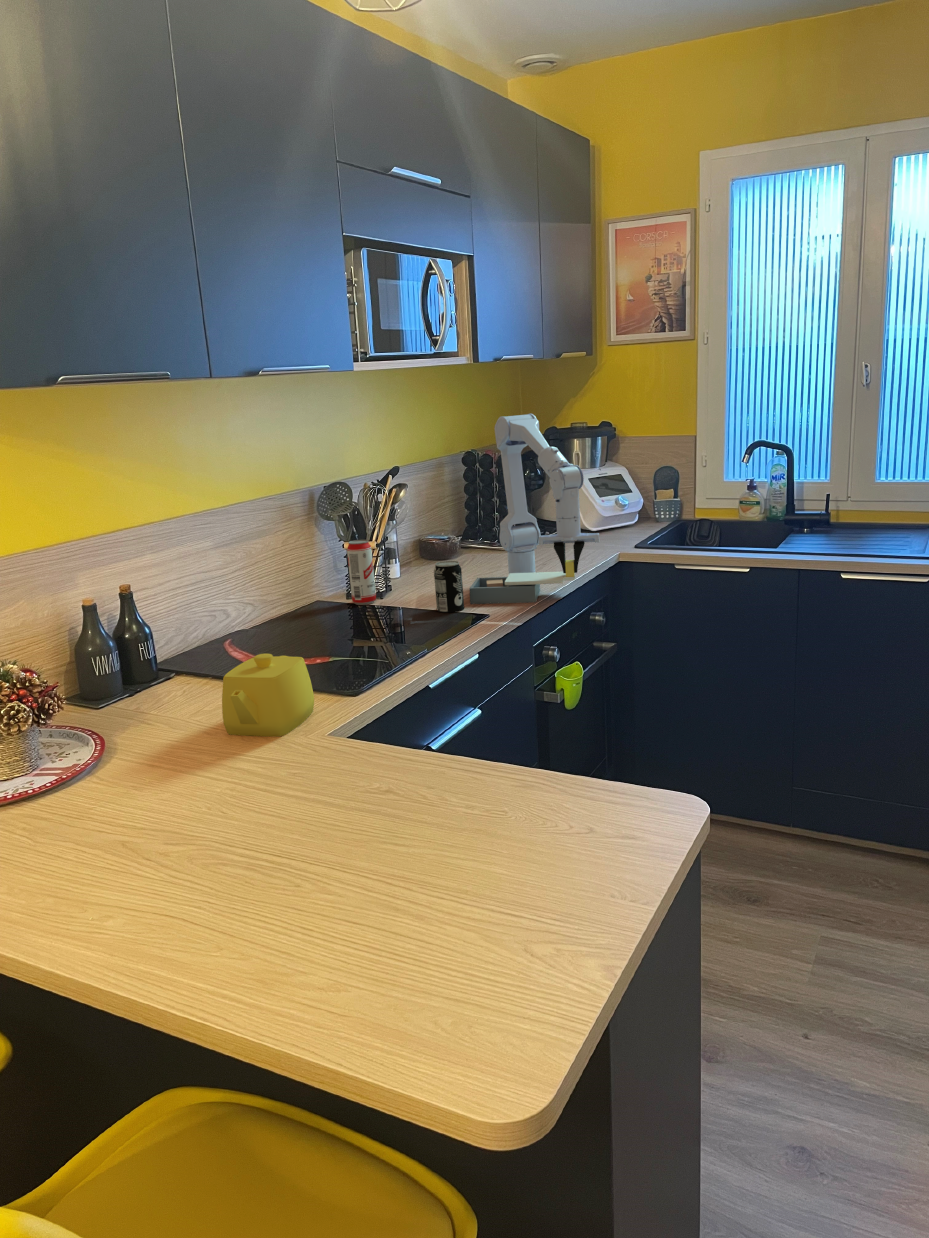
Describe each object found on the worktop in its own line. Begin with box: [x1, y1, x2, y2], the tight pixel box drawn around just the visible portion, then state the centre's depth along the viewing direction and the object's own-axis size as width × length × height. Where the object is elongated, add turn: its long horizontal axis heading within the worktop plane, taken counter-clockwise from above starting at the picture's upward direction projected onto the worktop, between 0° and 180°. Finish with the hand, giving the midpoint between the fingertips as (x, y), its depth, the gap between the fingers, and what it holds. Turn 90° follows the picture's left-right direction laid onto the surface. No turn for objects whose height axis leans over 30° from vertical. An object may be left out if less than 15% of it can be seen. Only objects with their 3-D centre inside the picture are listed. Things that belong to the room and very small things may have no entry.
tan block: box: [487, 580, 503, 587], centre depth 228 cm, size 4×4×4 cm
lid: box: [505, 559, 576, 585], centre depth 222 cm, size 10×17×4 cm, turn 80°
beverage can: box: [433, 560, 465, 614], centre depth 216 cm, size 7×7×12 cm
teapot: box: [221, 653, 315, 738], centre depth 150 cm, size 20×12×12 cm, turn 165°
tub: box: [468, 576, 541, 605], centre depth 225 cm, size 12×16×4 cm
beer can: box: [346, 539, 377, 606], centre depth 232 cm, size 6×6×16 cm
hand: (570, 572), depth 221 cm, fingers closed on lid, 2 cm apart
